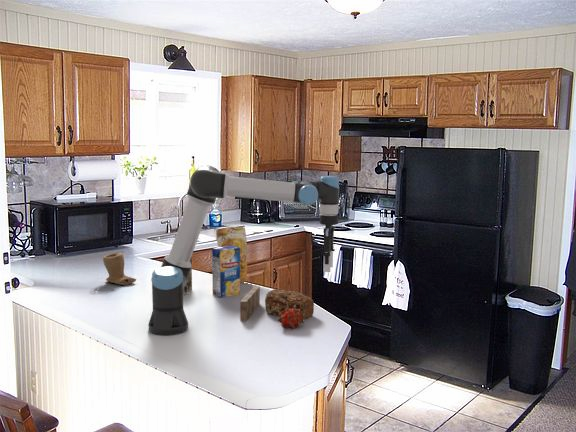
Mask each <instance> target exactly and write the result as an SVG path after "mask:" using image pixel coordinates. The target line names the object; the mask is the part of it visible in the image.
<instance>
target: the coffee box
mask: <svg viewBox="0 0 576 432" xmlns="http://www.w3.org/2000/svg"><path fill="white" fill-rule="evenodd" d="M192 257H193V256H191V259H190V263H191V265H192V266H193V263H192V262H193V261H192V260H193V258H192ZM192 270H193V267H192V268H191V270H190V273H189V276H188V281H187V283H186V285H185V287H184V289H183V296H185V295H187V294H188V293H190V292H191V291H192V290H193V271H192Z"/></svg>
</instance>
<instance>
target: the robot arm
mask: <svg viewBox="0 0 576 432" xmlns="http://www.w3.org/2000/svg"><path fill="white" fill-rule="evenodd" d="M339 180H340V179H339V177H338V176H336V175H335V176H334V175H322V176H320V179H319V180H318V181H317V180H316V181H314V180H312V181H309V180H308V181H307V180H295V181H291V182H289V181H280V180H270V179H261V178H260V179H259V178H252V177H251V178H249V177H240V176H239V177H238V176H230V175H229V174H228V173H227V172H221V171H219V170H218V168H216V167H215V166H212V165H202V166H199V167H198V168H197V169H196V170H195V171H194V172H193V173H192V174H191V177H190V180H189V181H190V182H189V186H188V189H187V192H186V196H187V198H188V201H187V202H186V203H187V204H186V206H185V209H184V212H183V215H182V218H181V221H180V223H179V226H178V229H177V232H176V235H175V237H174V240H173V242H172V243H173V244H172V247H171V249H170V252H169V254H168V255H165V256H164V257H163V261H162V263H161V266H160V267H159V268H156V269H155V270H154V269H153V271H152V274H151V280H150V281H151V290H152V291H151V292H152V293H151V294H152V295H151V296H152V297H151V298H152V299H151V300H152V311H151V314H150V319H149V321H148V326H147V327H148V331H149V333H151V334H153V335H158V336H171V335H178V334H182V333H184V332H186V331H188V330H189V321H188V319H187V316H186V313H185V310H184V295H183V289H184V287H185V285H186V283H187V281H188V276H189V273H190V270H191V268H192V269H193V264H192V265H191V263H190V259H191V257H193V254H194V251H195V248H196V245H197V242H198V240H199V236H200V235H201V230H202V228H203V225H204V222H205V221H206V217H207V214H208V212H209V209H210V207H211V206H213V205H215V202H216V201H217V199H226V198H228V197H233V198H245V199H254V200H266V201H277V202H285V203H286V202H287V203H296V204H302V205H305V206H312V205H314V204H315V203H316V202H317V201H319V214H320V215H319V223H320V225H325V226H324V228H323V248H322V249H323V253H321V256H322V257H323V270H322V271H323V273H331V268H333V265H334V258H333V257H334V252H335V248H334V236H335V235H334V234H335V227H334V226H337V225H338V224H339V215H338V214H339V210H340V209H341V207H340V206H339V204H340V203H339V201H340V196H339V195H340V181H339Z"/></svg>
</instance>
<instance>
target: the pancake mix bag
mask: <svg viewBox="0 0 576 432" xmlns="http://www.w3.org/2000/svg"><path fill="white" fill-rule="evenodd" d="M215 234H216V236H215V237H216V242H217V247H224V246H231V245H232V246H235V247H239V248H240V283H244V282H246V281H247V280H248V242H247V235H246V234H247V233H246V228H245V227H244V226H243V225H239V226H228V227H221V228H217V230H216V231H215Z"/></svg>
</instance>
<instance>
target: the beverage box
mask: <svg viewBox="0 0 576 432" xmlns="http://www.w3.org/2000/svg"><path fill="white" fill-rule="evenodd" d="M211 250H212V252H211V253H212V254H211V255H212V256H211V258H212V259H211V260H212V261H211V262H212V266H211V267H212V271H211V272H212V273H211V274H212V278H211V279H212V295H213V296H217V297H218V298H224V297H225V298H226V297H230V296H235V295H239V294H241V282H240V248H239V247H235V246H232V245H231V246H224V247H218V246H217V247H212V249H211Z"/></svg>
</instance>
